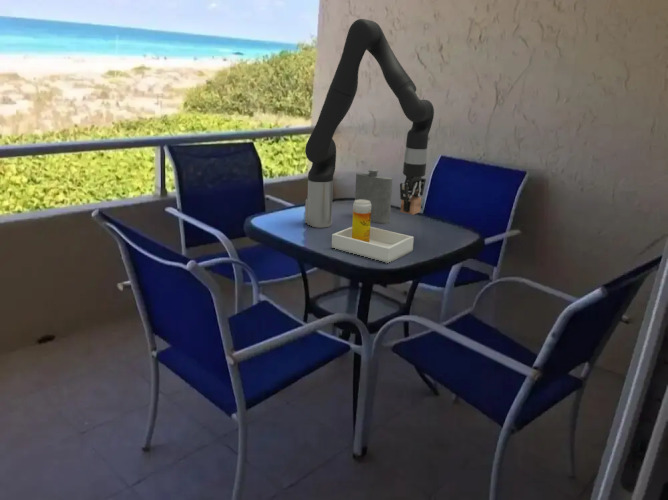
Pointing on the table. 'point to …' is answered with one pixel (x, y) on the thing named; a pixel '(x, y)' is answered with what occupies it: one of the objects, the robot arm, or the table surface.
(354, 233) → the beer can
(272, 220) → the table surface
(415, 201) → the wooden cube
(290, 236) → the table surface
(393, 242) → the tray
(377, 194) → the hip flask
